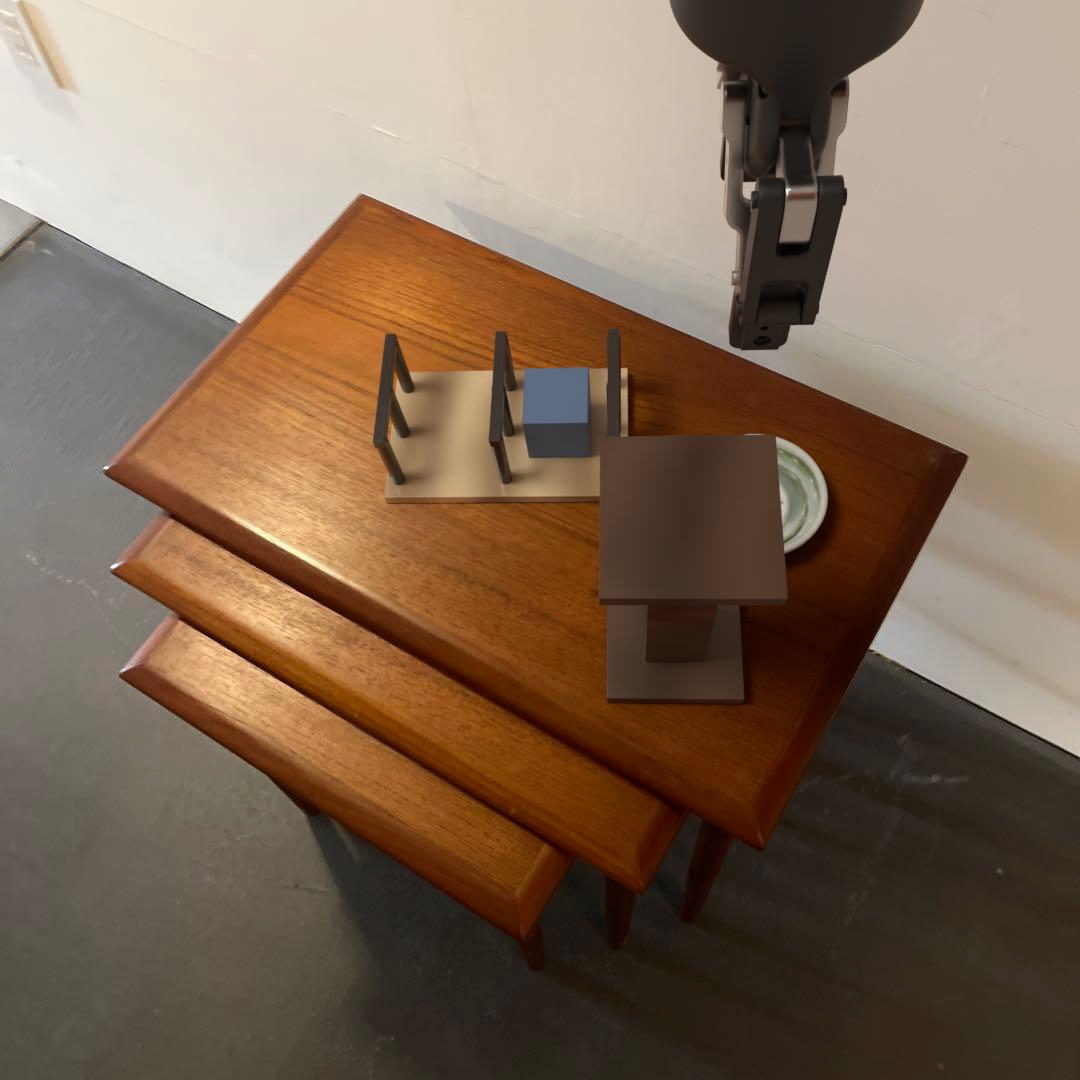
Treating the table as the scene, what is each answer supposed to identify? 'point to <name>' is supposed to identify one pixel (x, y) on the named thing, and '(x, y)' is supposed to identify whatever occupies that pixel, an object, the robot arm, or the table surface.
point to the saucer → (799, 494)
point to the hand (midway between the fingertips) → (750, 254)
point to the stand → (686, 561)
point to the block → (557, 412)
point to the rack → (484, 432)
